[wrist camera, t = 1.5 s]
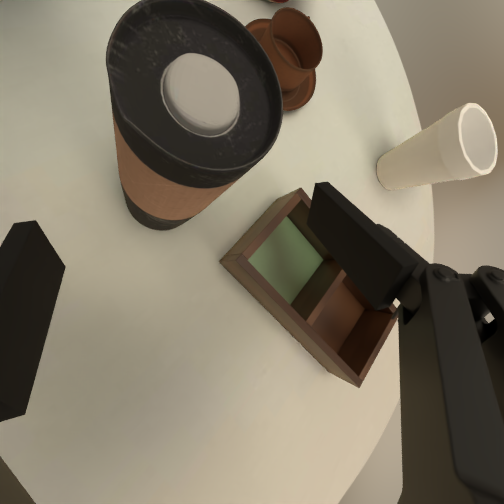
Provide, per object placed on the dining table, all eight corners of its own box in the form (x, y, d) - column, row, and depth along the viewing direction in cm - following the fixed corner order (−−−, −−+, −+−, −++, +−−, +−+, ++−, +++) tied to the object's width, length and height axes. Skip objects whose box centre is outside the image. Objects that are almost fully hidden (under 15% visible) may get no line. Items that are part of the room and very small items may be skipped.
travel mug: (205, 190, 31) (308, 82, 13) (175, 245, 29) (245, 209, 11) (145, 151, 28) (169, -52, 10) (107, 209, 27) (55, 85, 8)
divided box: (277, 198, 35) (301, 187, 30) (367, 307, 41) (400, 313, 36) (218, 261, 31) (235, 260, 26) (328, 372, 37) (359, 388, 32)
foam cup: (387, 209, 45) (479, 188, 33) (361, 163, 42) (449, 123, 31) (413, 180, 48) (504, 151, 36) (390, 136, 46) (478, 91, 34)
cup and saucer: (238, 14, 34) (259, -36, 29) (311, 55, 39) (340, 20, 34) (227, 96, 33) (246, 61, 27) (303, 129, 38) (333, 105, 32)
